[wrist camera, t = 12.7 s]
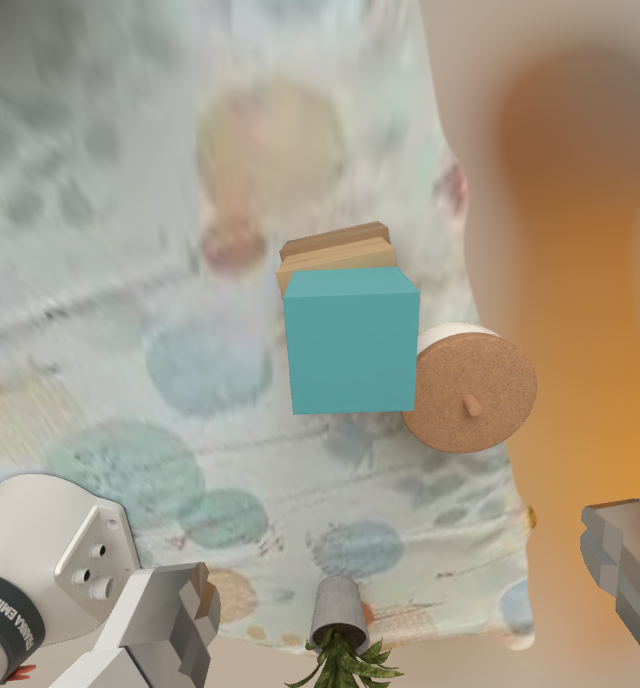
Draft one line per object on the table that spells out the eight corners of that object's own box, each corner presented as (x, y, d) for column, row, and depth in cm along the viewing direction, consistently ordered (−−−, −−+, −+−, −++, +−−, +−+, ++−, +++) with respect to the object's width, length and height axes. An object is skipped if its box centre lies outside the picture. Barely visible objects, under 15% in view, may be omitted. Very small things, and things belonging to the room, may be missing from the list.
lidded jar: (413, 421, 40) (437, 486, 31) (367, 339, 37) (380, 386, 28) (512, 377, 38) (567, 434, 29) (473, 285, 34) (522, 318, 26)
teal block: (394, 360, 24) (413, 410, 19) (300, 363, 25) (293, 414, 19) (396, 266, 22) (420, 292, 17) (294, 271, 22) (283, 298, 17)
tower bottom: (391, 308, 36) (403, 330, 30) (307, 325, 36) (304, 350, 31) (377, 221, 33) (387, 227, 27) (287, 241, 33) (279, 251, 28)
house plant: (389, 632, 53) (413, 808, 38) (290, 628, 53) (275, 803, 38) (399, 559, 48) (433, 731, 33) (289, 555, 48) (272, 725, 33)
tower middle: (393, 326, 30) (409, 357, 24) (307, 343, 30) (302, 377, 25) (380, 236, 27) (394, 248, 22) (286, 256, 28) (275, 273, 22)
